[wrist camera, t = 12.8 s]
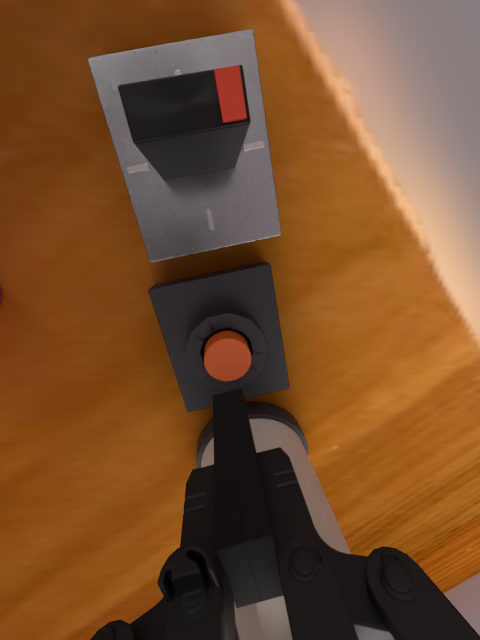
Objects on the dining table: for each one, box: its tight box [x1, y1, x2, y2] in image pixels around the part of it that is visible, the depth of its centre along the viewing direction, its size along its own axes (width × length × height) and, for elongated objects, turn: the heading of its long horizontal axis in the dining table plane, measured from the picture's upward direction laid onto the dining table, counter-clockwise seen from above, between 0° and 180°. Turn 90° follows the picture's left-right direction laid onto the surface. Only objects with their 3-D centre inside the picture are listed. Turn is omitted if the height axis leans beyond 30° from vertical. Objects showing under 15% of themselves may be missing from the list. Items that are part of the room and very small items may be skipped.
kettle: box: [196, 402, 351, 640], centre depth 19 cm, size 17×12×19 cm
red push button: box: [204, 330, 251, 381], centre depth 20 cm, size 4×4×2 cm
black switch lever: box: [118, 65, 251, 180], centre depth 13 cm, size 5×2×7 cm, turn 101°
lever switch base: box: [87, 29, 281, 263], centre depth 18 cm, size 12×10×3 cm
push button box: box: [148, 262, 289, 412], centre depth 22 cm, size 12×10×4 cm
